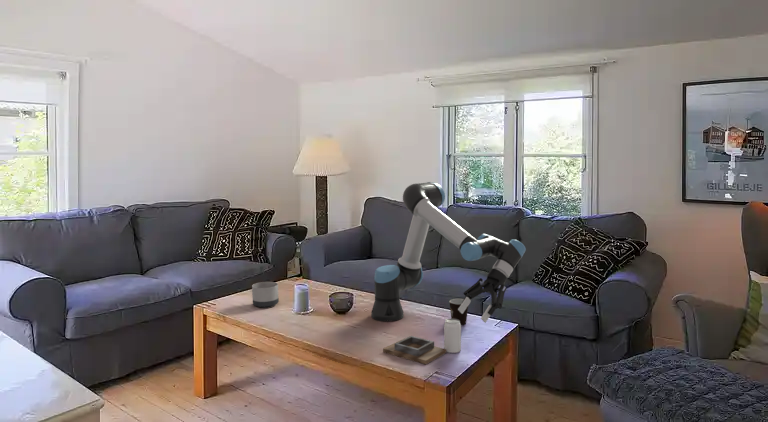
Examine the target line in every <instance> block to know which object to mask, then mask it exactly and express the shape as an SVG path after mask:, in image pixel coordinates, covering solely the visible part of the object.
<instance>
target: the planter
mask: <svg viewBox="0 0 768 422" xmlns="http://www.w3.org/2000/svg"><path fill="white" fill-rule="evenodd" d="M251 291H252V292H251V294H252V295H251V296H252V297H251V298H252V305H253V306H255V307H258V308H271V307H273V306H275V305H277V304H279V302H280V301H279V283H277V282H274V281H262V282H261V281H260V282H256V283H253V284H252V285H251Z"/></svg>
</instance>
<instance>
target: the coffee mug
mask: <svg viewBox="0 0 768 422" xmlns="http://www.w3.org/2000/svg"><path fill="white" fill-rule="evenodd" d="M463 300H464V298H453V299H450V300H449V303H448V304H449V310H450V311H449V312H450V317H451V318H450V319H458V320H460V324H461V326H464V325H467V319H468V318H467V317H468V310H469V306H468V307H467V308H466V310H465V311H464V313H463V314H462V313H461V312H460V311H459V310H458V309H459V307H460V306H461V304H462V301H463Z"/></svg>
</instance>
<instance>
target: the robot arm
mask: <svg viewBox="0 0 768 422" xmlns="http://www.w3.org/2000/svg"><path fill="white" fill-rule="evenodd" d="M445 200H446V193H445V191H444V188H443V187H442V186H441V184H439V183H437V182H431V181H426V182H421V183H419V182H418V183H413V184H412V183H411V184H410V185H408V186H407V187H406V188H405V190H404V191H403V194H402V202H403V205H404V206H405V208H406V209H407V210H408V211H409V213H411V214H412V219H411V222H410V225H409V230H408V231H407V232H408V233H407V237H406V241H405V244H404V248H403V251H402V252H403V253H402V256H400V257H399V258H398V260H397V263H396V265H395V264H387V265H382V266H378V267H377V268H376V269H375V271H374V277H373V279H374V302H373V305H372V309H371V312H370V313H371V314H370V315H371V318H372V319H373V320H375V321H379V322H394V321H399V320H401V319H403V318H404V309H403V305H402V303H401V300H400V299H401V298H400V297H401V292H402V291H406V290H409V289H414V288H415V287H417V286H418V285H420V284H421V283H422V281H423V278H424V272H423V268H422V263H421V262H420V260H421V257H422V255H423V250H424V246H425V242H426V238H427V235H428V232H429V227H432V228H433V229H434V230H435V231H437V232H438V233H439V234H441V235H442V236H443V238H445V239H447V240H448V241H449V242H450V243H451V244H453V245H454V246H455V247H457V248H458V249H459V251H460V255H461V257H462V258H463V259H464V260H465V261H467V262H472V261H478V260H480V259H483V258H487V257H494V258H497V259H496V261H495V263H494V264H493V265H492V268H491V269H490V270H489V272H488V273H487V275H486V279H485V280H484V279H483V278H479V279H478V280H477V282H475V283H474V284H472V285H471V286H470V287H469V288H468V289H466V290H465V291H464V292H462V293H463V295H464V296H465V297H464V298H463V299H464V300H463V301H462V304H461V306H460V307H459V309H458V310H459V311H460V312H461V313H462V314H463V313H464V311H465V310H466V308H467V307H468V308H469V305H470V304H471V302H472V300H473V299H474V298H475V297H478V296H479V295H481V294H484V293H487V294H489V295H491V296H490V297H491V303H490V304H488V306H487V308H486V309H485V311H484V312H483V314H482V315H481V317H480V320H481V321H482V322H483V323H485V324H486V323H487V321H488V320H489V318H490V317H491V316H492V315H493V314H494V313H495V311H496V310H497V309H499V310H501V309H502V308H503V302H504V299H505V293H506V291H507V287H506V286H505V283H507V281H508V278H509V277H510V275H511V274H512V273H513V272H514V270H515V268H516V266H517V265H518V263H519V262H520V260H521V259H522V258H523V256H524V254H525V252H526V251H527V249H526V246H525V245H524V244H523V243H522V242H521V241H519V240H517V239H510V241H508V242H507V241H504V240H502V239H500V238H498V237H494V236H492V235H490V234H486V233H482V234H481V235H480V236H478V237H477V239H476V238H475V237H474V236H473V235H471V234H470V233H469V232H468V231H466V230H465V229H464V228H462V227H461V226H460V225H459V224H457V223H456V222H455V221H454V220H453V219H451V218H450V217H449V216H448V215H446V214H445V213H444V212H442V210H440V209H438V208H439V207H441V206H442V205H443V204H444V202H445Z"/></svg>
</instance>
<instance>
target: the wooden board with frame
mask: <svg viewBox="0 0 768 422" xmlns="http://www.w3.org/2000/svg"><path fill="white" fill-rule="evenodd" d="M382 353H385V354H388V355H391V356H394V357H398V358H401V359H405V360H409V361H412V362H416V363H418V364H419V363H420V364H423V365H428V364H429V363H431V362H433V361H435V360H437V359H439V358H440V357H442V356H444V355H445V354H447V352H446V349H444V347H440V346H435V341H433V340H430V339H427V338H421V337H418V336H414V335H410V336H407V337H405V338H402V339H400V340H398V341H396V342H394V343H392V344H390V345H387V346H386V347H383V348H382Z"/></svg>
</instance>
